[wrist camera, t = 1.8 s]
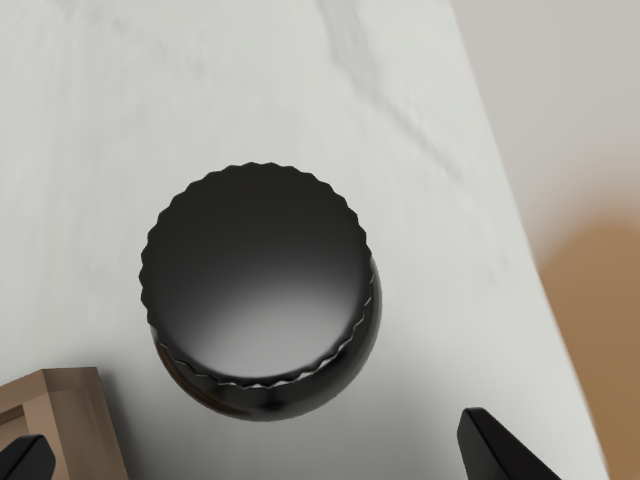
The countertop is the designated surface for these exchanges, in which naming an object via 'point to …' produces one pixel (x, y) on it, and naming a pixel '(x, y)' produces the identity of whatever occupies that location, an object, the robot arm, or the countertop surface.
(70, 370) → the square wooden tray
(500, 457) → the robot arm
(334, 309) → the supplement bottle
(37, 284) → the countertop surface
